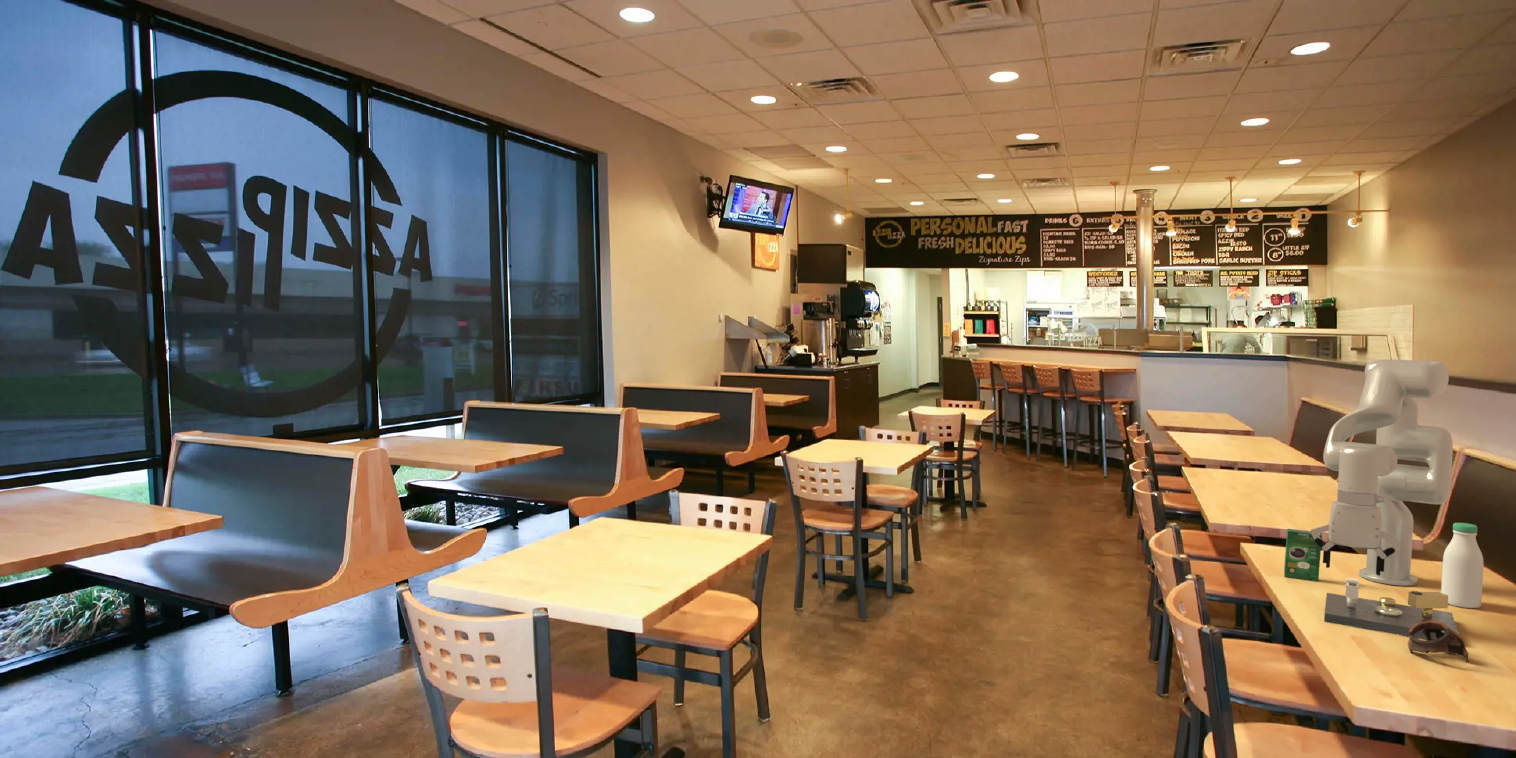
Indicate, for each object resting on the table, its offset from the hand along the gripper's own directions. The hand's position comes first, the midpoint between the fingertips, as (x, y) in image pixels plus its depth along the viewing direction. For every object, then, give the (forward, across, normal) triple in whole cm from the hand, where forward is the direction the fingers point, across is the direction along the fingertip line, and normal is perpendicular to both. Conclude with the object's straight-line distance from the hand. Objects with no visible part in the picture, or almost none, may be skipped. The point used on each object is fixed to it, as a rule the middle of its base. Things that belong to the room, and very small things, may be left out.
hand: (1352, 570), depth 194 cm
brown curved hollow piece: (+12, -15, +18) cm, 26 cm away
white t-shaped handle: (+9, 0, -1) cm, 9 cm away
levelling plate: (+11, -7, -1) cm, 13 cm away
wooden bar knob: (+9, -14, -1) cm, 17 cm away
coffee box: (+11, +11, -28) cm, 32 cm away
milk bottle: (+10, -22, -27) cm, 36 cm away
